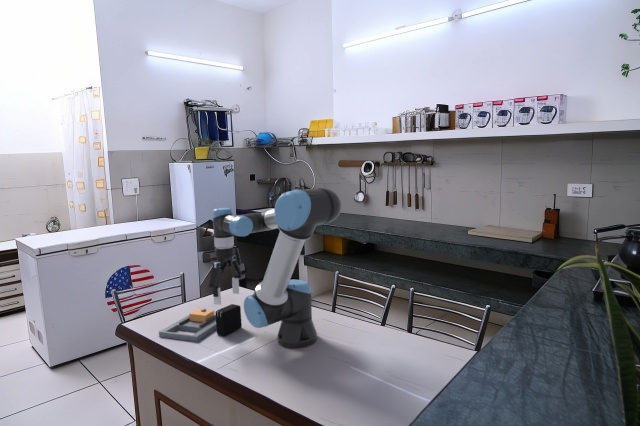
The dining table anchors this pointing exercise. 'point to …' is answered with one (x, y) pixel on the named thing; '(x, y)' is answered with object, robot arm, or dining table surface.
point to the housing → (189, 329)
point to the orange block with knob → (201, 315)
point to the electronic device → (228, 319)
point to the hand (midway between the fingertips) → (227, 298)
